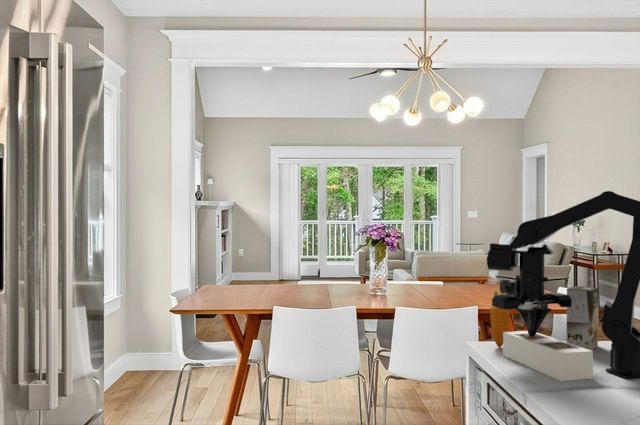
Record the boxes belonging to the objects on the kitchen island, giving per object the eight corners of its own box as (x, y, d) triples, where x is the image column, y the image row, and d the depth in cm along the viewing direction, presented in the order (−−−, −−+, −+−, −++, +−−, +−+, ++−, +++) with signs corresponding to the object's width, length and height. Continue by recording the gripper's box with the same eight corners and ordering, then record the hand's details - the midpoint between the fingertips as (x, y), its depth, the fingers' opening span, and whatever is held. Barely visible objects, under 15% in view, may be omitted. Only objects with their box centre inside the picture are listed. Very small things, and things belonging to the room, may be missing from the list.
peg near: (571, 372, 124) (571, 346, 124) (557, 373, 123) (557, 347, 123) (560, 368, 128) (560, 343, 128) (546, 369, 127) (546, 344, 127)
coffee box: (592, 352, 144) (592, 290, 144) (565, 349, 148) (566, 288, 148) (598, 346, 151) (598, 287, 151) (573, 342, 155) (573, 285, 155)
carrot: (511, 349, 146) (511, 293, 146) (492, 349, 146) (493, 293, 146) (505, 345, 151) (506, 290, 151) (487, 345, 151) (487, 290, 151)
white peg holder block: (592, 378, 121) (592, 351, 121) (561, 381, 119) (561, 353, 119) (530, 354, 142) (530, 330, 142) (503, 355, 140) (503, 332, 140)
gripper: (544, 268, 145) (544, 327, 145) (480, 269, 141) (480, 331, 141) (573, 272, 135) (573, 337, 135) (505, 274, 130) (505, 341, 130)
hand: (531, 336), depth 135 cm, fingers closed, pressing on peg far
